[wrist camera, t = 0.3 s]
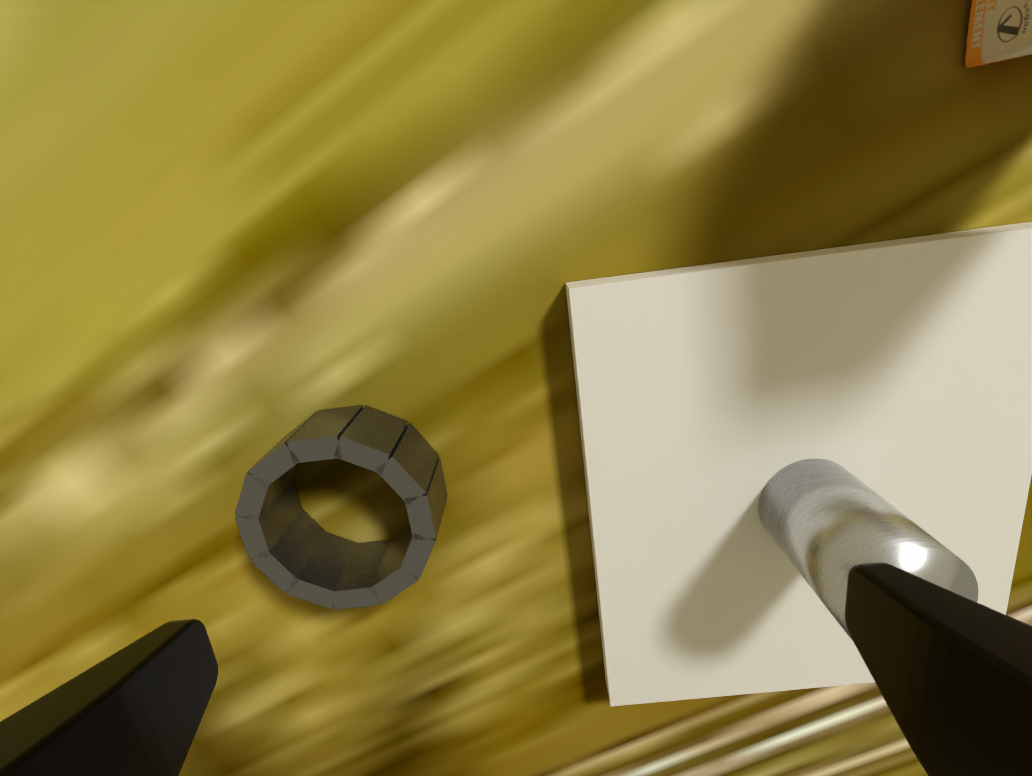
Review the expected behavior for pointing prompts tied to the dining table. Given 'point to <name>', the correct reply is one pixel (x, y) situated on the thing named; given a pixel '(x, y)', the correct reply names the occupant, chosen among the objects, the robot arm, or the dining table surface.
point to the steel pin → (849, 533)
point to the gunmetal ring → (326, 557)
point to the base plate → (792, 441)
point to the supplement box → (998, 31)
